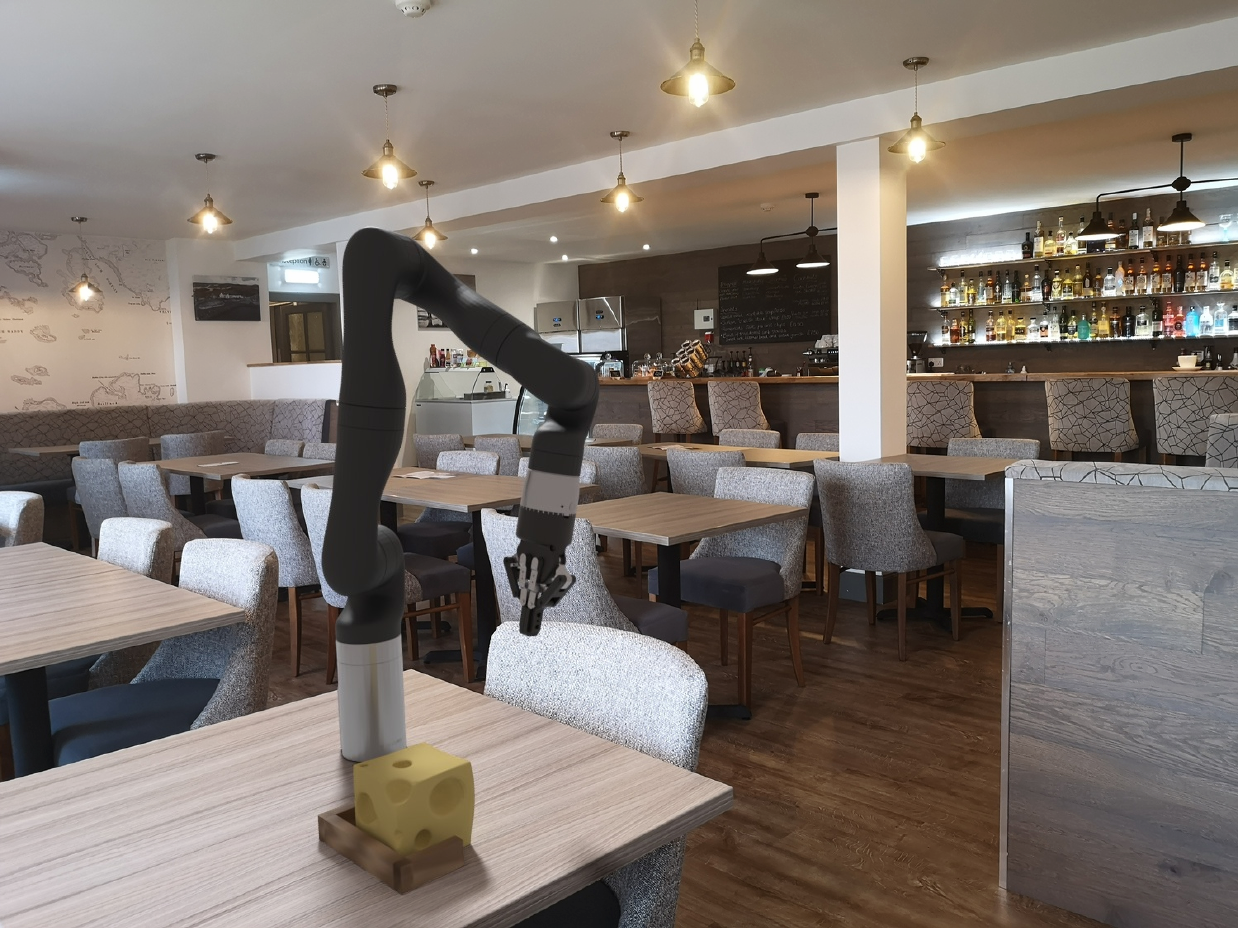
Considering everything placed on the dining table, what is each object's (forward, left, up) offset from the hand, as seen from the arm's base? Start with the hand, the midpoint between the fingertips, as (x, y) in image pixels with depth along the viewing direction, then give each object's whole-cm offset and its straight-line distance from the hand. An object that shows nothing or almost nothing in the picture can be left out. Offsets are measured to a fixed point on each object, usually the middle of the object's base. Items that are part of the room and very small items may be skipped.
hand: (528, 634), depth 123 cm
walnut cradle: (+2, -24, -20) cm, 31 cm away
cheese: (+3, -20, -20) cm, 29 cm away
